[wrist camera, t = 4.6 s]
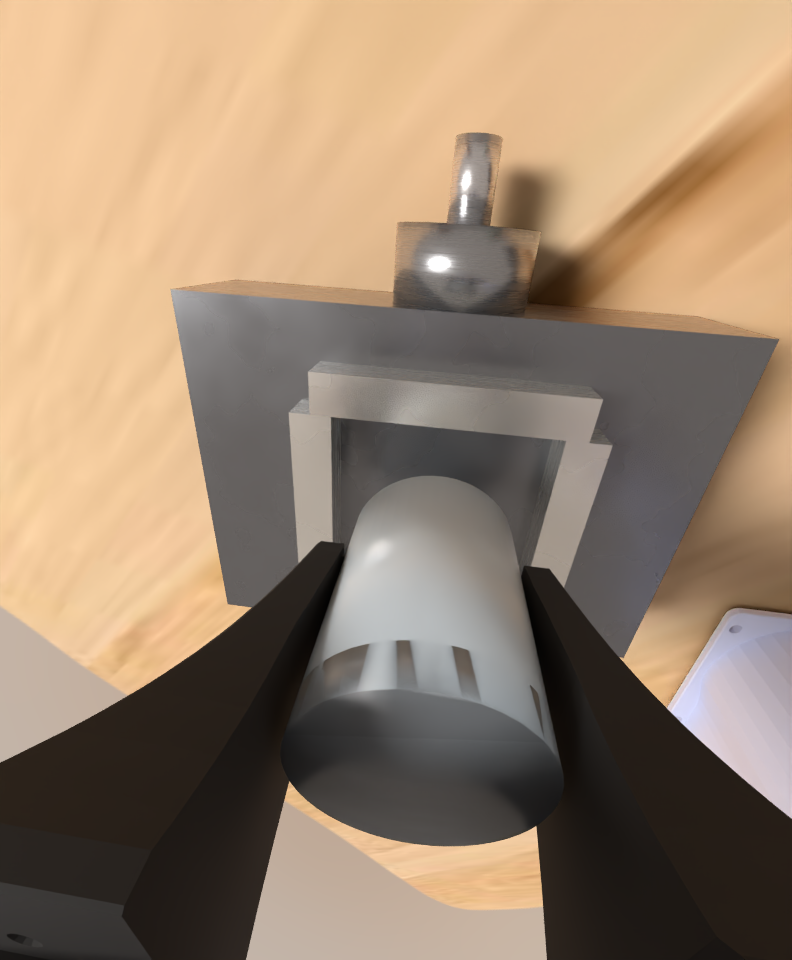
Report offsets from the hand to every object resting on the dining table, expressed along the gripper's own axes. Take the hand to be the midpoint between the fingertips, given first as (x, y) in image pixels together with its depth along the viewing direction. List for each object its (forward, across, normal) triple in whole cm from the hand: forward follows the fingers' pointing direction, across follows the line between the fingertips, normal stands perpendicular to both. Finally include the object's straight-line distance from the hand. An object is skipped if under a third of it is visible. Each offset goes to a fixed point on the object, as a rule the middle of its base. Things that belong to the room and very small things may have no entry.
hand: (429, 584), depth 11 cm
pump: (+1, 0, 0) cm, 1 cm away
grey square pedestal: (+8, 0, -2) cm, 8 cm away
